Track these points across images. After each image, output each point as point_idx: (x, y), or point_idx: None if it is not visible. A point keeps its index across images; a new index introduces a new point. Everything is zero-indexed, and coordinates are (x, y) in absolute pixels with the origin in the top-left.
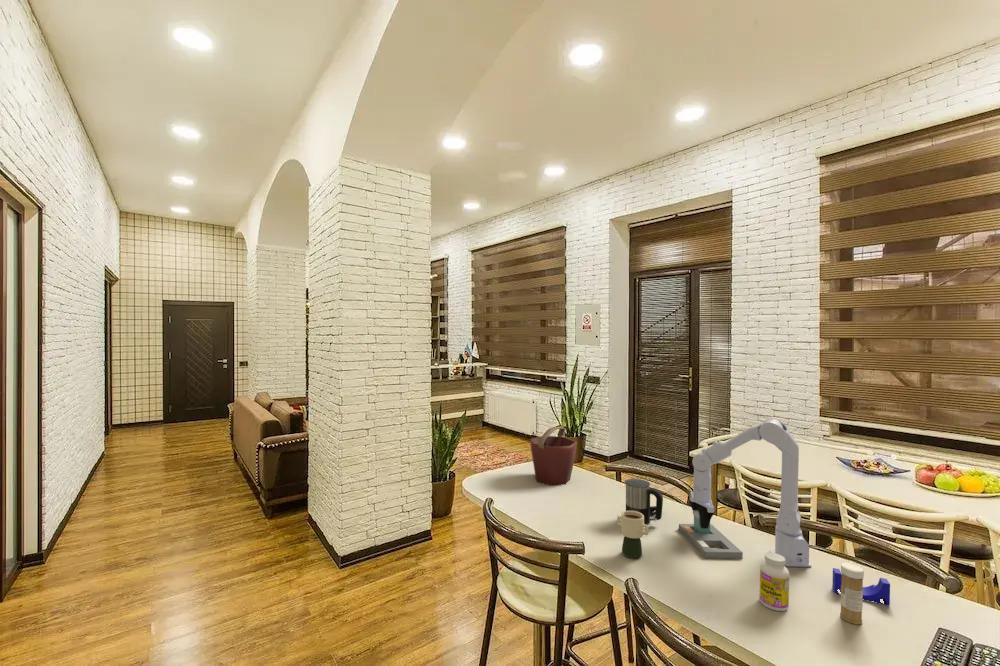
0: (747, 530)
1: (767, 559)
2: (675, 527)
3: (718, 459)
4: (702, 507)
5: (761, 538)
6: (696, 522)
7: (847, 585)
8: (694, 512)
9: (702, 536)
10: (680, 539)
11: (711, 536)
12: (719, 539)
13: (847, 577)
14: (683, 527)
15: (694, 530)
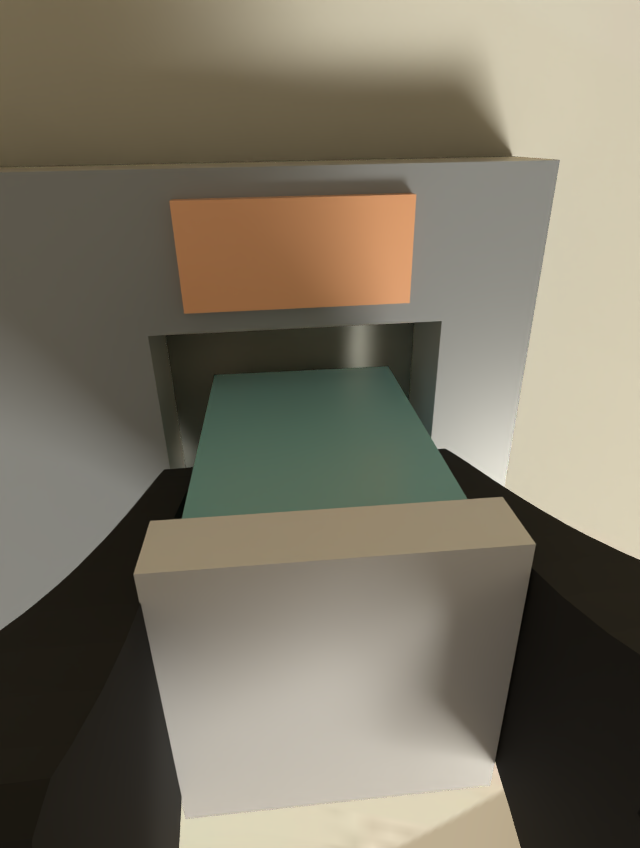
0: (423, 804)
1: None
2: (588, 128)
3: None
4: (530, 811)
5: (277, 842)
6: (307, 445)
7: None
8: (403, 546)
9: (54, 393)
10: (113, 6)
11: (90, 517)
12: (9, 581)
13: None
14: (400, 192)
15: (368, 367)
